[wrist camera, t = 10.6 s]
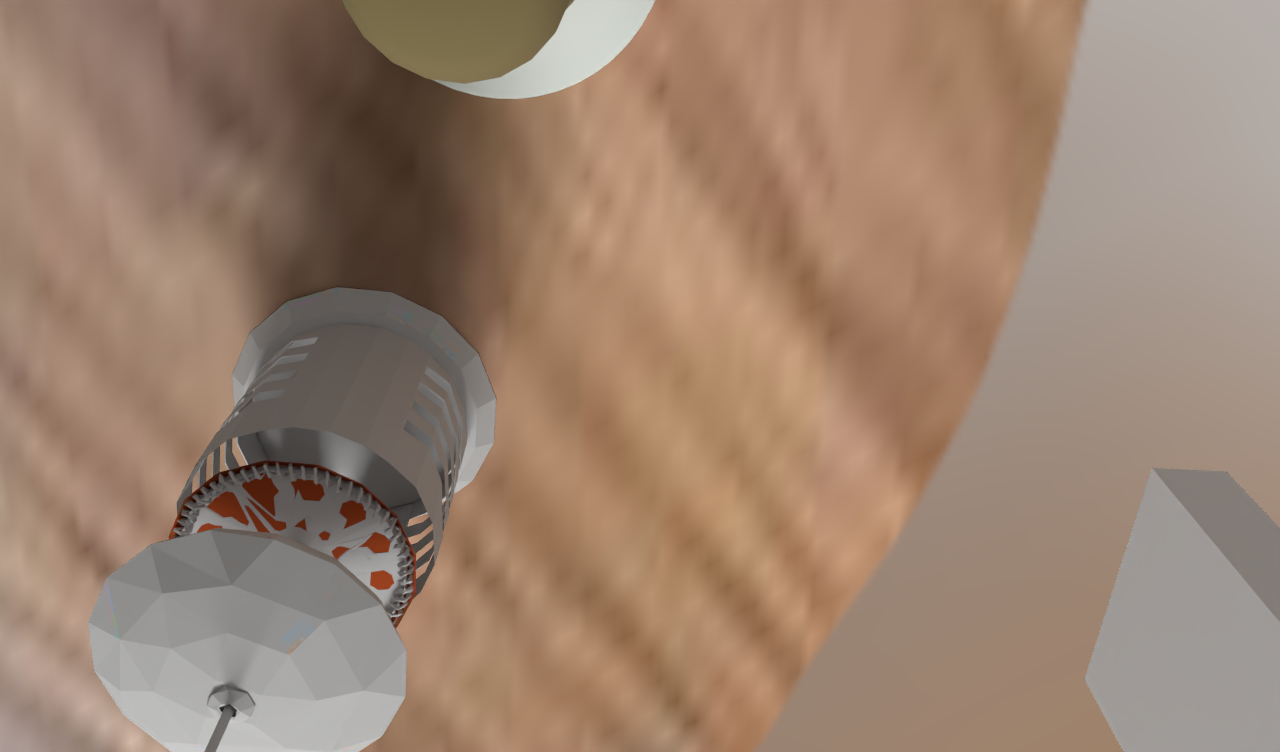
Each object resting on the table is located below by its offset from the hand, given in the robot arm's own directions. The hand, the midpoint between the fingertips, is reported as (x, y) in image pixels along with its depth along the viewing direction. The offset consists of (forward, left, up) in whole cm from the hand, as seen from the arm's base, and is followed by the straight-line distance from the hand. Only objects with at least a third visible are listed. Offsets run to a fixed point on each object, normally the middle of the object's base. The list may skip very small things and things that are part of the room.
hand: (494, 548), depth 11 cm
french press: (-8, -14, -27) cm, 31 cm away
